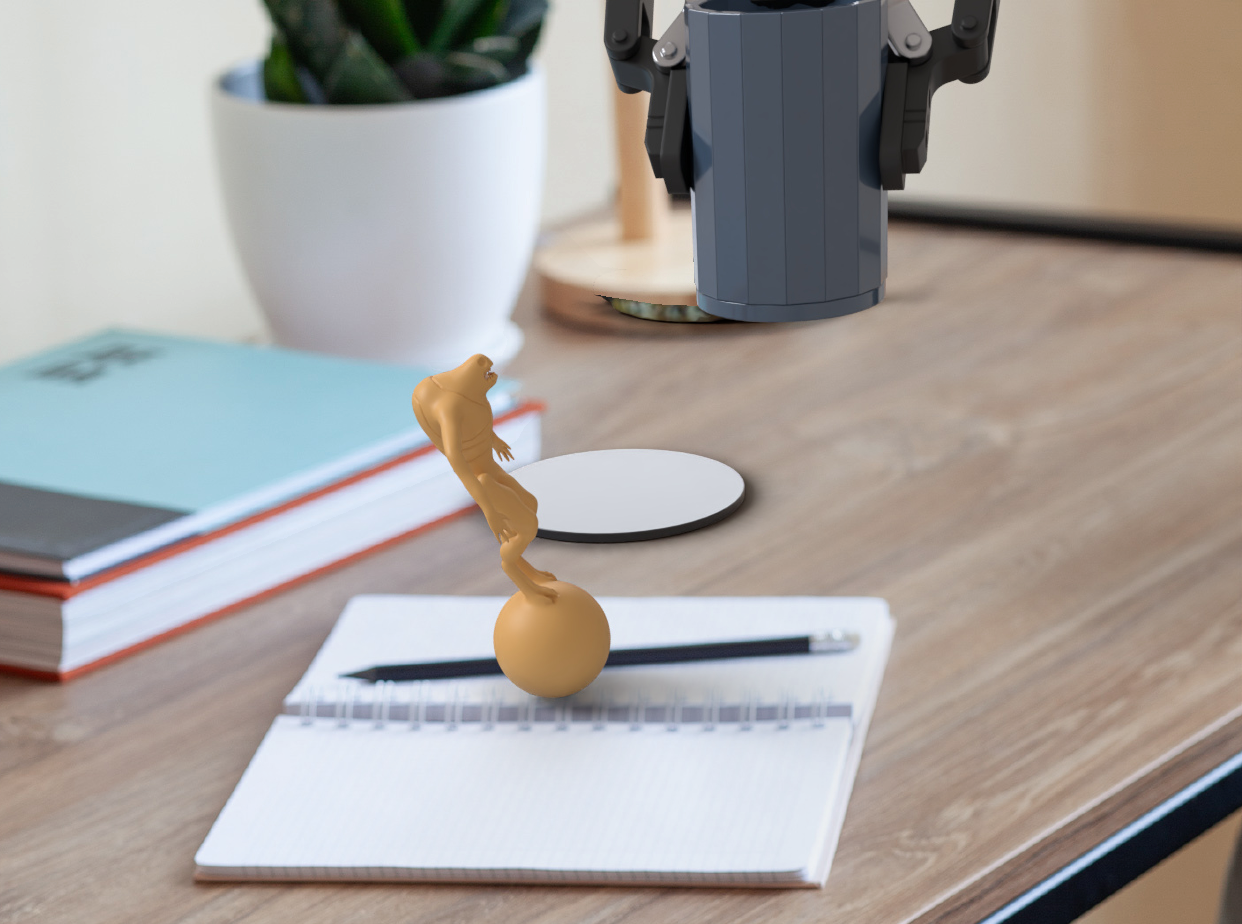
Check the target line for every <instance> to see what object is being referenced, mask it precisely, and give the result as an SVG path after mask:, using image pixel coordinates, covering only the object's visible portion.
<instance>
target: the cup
mask: <svg viewBox="0 0 1242 924" xmlns="http://www.w3.org/2000/svg"><path fill="white" fill-rule="evenodd" d="M683 7H684V26H685V52H686V79H687V102H688V129H689V155H690V181H691V189H690V204H691V206H690V207H691V208H690V209H691V232H692V233H691V235H692V236H691V237H692V257H693V262H694V283H695V285H696V302H697V305H698V306H699V308H700V309H702V310H703V311H705V312H707V313H709V314H712V315H715V316H719V317H723V318H728V319H727V320H734V321H743V322H753V323H754V322H755V323H799V322H800V323H801V322H812V321H820V320H827V319H834V318H840V317H844V316H850V315H853V314H856V313H861V312H863V311H866V310H869V309H871V308H873V307H876V306H877V305H879V304H880V303H882V302H883V301H884V300H885V297H886V295H887V278H888V277H889V275H888V273H889V269H888V265H889V264H888V263H889V262H888V260H889V259H888V258H889V257H888V256H889V255H888V253H889V252H888V251H889V249H888V246H889V245H888V243H889V242H888V241H889V239H888V235H889V234H888V233H889V231H888V228H889V227H888V225H889V224H888V223H889V221H888V220H889V219H888V218H889V217H888V216H889V213H888V211H889V209H888V208H889V207H888V205H889V200H888V199H889V198H888V197H889V195H888V193H889V191H883V188H882V181H881V173H880V165H879V149H880V136H881V125H882V113H883V102H884V90H885V79H886V69H887V63H888V0H835V1H834V2H832V3H828V5H827V6H825V7H823V2H822V8H815V7H811V6H808V5H804V4H800V3H797V4H795V5H793V6H791V7H789V8H784V9H777V10H773V6H772V9H769V8H767V7H766V6H761V7H760V6H757V4H753V3H751V0H695V1H693V2H691V3H688V4H686V5H685V6H684V5H683Z"/></svg>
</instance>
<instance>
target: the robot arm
mask: <svg viewBox="0 0 1242 924" xmlns="http://www.w3.org/2000/svg"><path fill="white" fill-rule="evenodd" d="M693 1H695V0H684V4H683V7H682V9H681V11H680V12H679V14H678V15H677V16H676V17H675V19H674V20H673V21H672V23H671V24H670V25H669V26H668V27H667V29H666V30H665V31H664V33H663V34H662V35H661V36H660V38H659V39H656V38H653V30H654V29H653V28H654V11H655V0H605V10H604V28H603V44H604V48H605V50H606V51H605V52H606V55H607V57H608V60H609V64H610V66H611V70H612V72H613V73H612V74H613V76H614V79H615V82H616V85H617V88H618V90H619V91H620V92H622V93H624V94H627V95H637V94H639V93H641V92H646V93H649V94H650V95H649V104H648V110H647V119H646V127H645V132H644V141H643V142H644V145H645V146H644V147H645V150H646V153H647V157H648V159H649V163H650V166H651V169H652V172H653V176H654V178H655V179H663V182H664V185H665V189H666V192H667V194H668V195H688V194H691V181H690V155H689V129H688V102H687V79H686V52H685V26H684V6H685V5H686V4H688V3H691V2H693ZM834 1H835V0H751V3H753V4H757V6H760V7H761V6H766V7H767V8H769V9H772V6H773V10H777V9H784V8H789V7H791V6H793V5H795V4H797V3H800V4H804V5H808V6H811V7H815V8H822V2H823V7H825V6H827V5H828V3H832V2H834ZM1000 5H1001V0H954V3H953V8H952V9H953V10H952V15H951V22H950V24H947V25H943V26H942V27H941V26H940V27H938V28H935V29H932V30H928V28H927V26H926V25H925V24H924V22H923V21H922V19H921V17H920V16H919V14H918V12H917V11H916V10H915V8H914V6H913V5H912V3H911V2H910V0H888V63H887V69H886V79H885V90H884V102H883V113H882V125H881V136H880V149H879V165H880V173H881V181H882V188H883V191H888V192H889V191H905V188H906V179H907V175H920V174H921V173H922V170H923V169H924V167H925V165H926V163H927V161H928V150H929V135H930V124H931V112H932V101H933V97H934V95H935V93H936V92H937V91H938V90H939V89H940V88H941V87H942V86H944V85H946V84H949V83H952V82H955V81H959V82H960V83H962V84H965V85H975V84H979V83H981V82H983V81H984V80H985V79H986V78H987V77H988V76H989V74H990V71H991V65H992V59H993V52H994V47H995V46H994V45H995V39H996V31H997V26H998V18H999V12H1000Z"/></svg>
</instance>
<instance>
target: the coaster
mask: <svg viewBox="0 0 1242 924" xmlns="http://www.w3.org/2000/svg"><path fill="white" fill-rule="evenodd" d="M507 473H508V474H509V475H510V476H512V477H513V478H514V479H516V480H517V482H518V483H519V484H520V485H521V486H522V487H523V488H524V489H526V490H527V491H528V492H530V493H531V494H533V495H534V496H535V497H536V499H537V502H538V509H537V514H536V516H537V518H538V531H537V534H536V536H535V537H539V538H544V539H549V540H557V541H565V542H577V543H623V542H625V543H627V542H635V541H637V542H638V541H646V540H652V539H653V540H654V539H661V538H667V537H670V536H677V535H680V534H684V533H688V532H692V531H695V530H699V529H703V528H705V527H708V526H710V525H713V524H714V523H715V524H716V523H718V522H719V521H721V520H723V519H724V518H726V517H729V516H730V515H731V514H732V513H734V512H736V510H737V509H738V508H739V507H741V505H742V503H743V502H744V500H745V495H746V485H745V480H744V478H743V477H742V475H741V474H740V473H739V472H738V471H737V470H735V468H733V467H731V466H729V465H728V464H725V463H723V462H721V461H719V460H716V459H714V458H713V459H712V458H709V457H706V456H702V455H698V454H694V453H688V452H684V451H683V452H682V451H676V450H668V449H666V450H665V449H656V448H655V449H654V448H653V449H652V448H617V449H616V448H615V449H614V448H613V449H600V450H599V449H598V450H589V451H588V450H587V451H582V452H581V451H580V452H575V453H569V454H564V455H558V456H553V457H550V458H545V459H542V460H538V461H535V462H532V463H529V464H526V465H524V466H521V467H519V468H517V469H515V470H512V471H510V472H507Z"/></svg>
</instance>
